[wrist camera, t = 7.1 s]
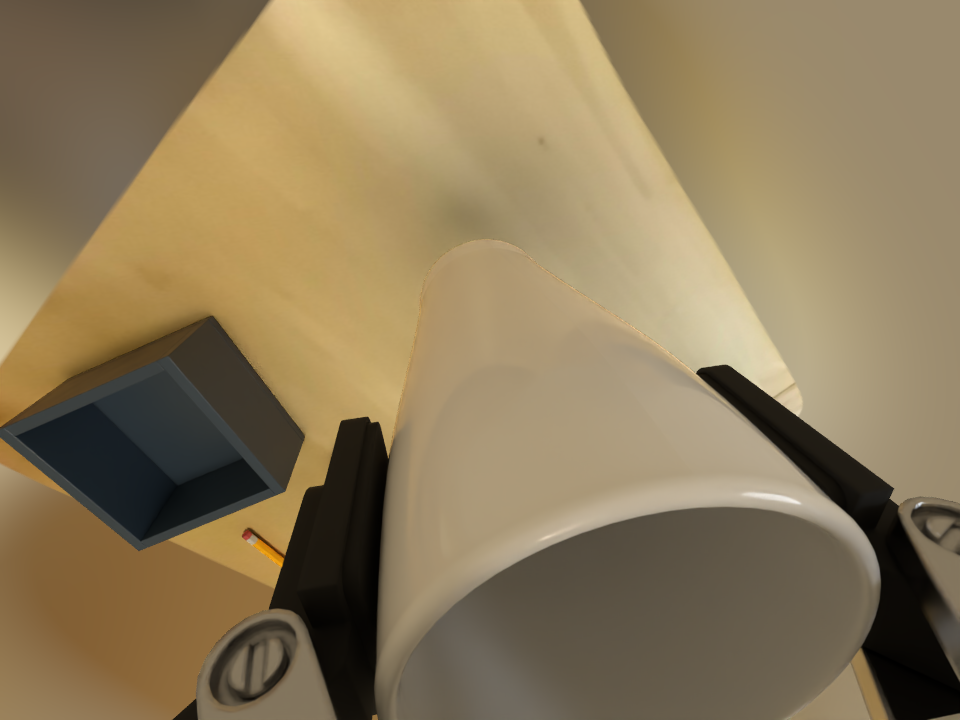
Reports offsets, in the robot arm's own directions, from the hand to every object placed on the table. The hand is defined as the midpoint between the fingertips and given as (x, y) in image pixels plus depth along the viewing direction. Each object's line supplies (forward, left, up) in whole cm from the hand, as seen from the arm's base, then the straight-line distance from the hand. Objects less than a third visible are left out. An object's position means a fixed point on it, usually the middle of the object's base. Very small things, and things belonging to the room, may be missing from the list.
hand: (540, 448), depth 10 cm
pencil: (+29, +25, -26) cm, 46 cm away
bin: (+26, +5, -26) cm, 36 cm away
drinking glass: (0, 0, -10) cm, 10 cm away
